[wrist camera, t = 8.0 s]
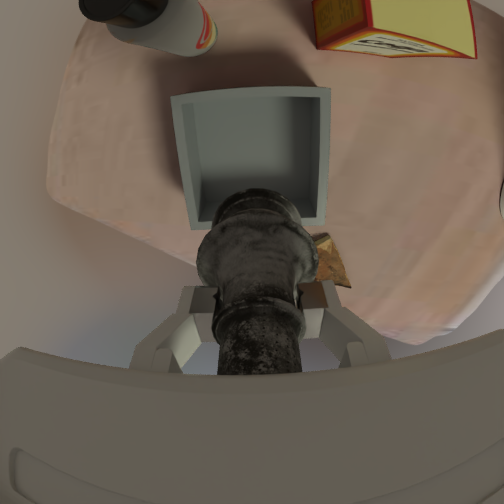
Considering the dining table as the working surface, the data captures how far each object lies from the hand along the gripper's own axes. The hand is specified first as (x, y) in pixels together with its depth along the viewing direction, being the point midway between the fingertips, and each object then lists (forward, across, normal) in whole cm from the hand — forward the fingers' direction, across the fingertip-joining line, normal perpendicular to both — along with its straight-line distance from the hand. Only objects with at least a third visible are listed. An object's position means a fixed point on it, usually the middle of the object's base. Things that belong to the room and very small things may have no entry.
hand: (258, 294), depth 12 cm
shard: (+25, -10, +16) cm, 31 cm away
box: (+24, 0, 0) cm, 24 cm away
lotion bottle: (+24, +6, -15) cm, 29 cm away
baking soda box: (+24, -12, -16) cm, 31 cm away
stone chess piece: (+6, 0, 0) cm, 6 cm away
